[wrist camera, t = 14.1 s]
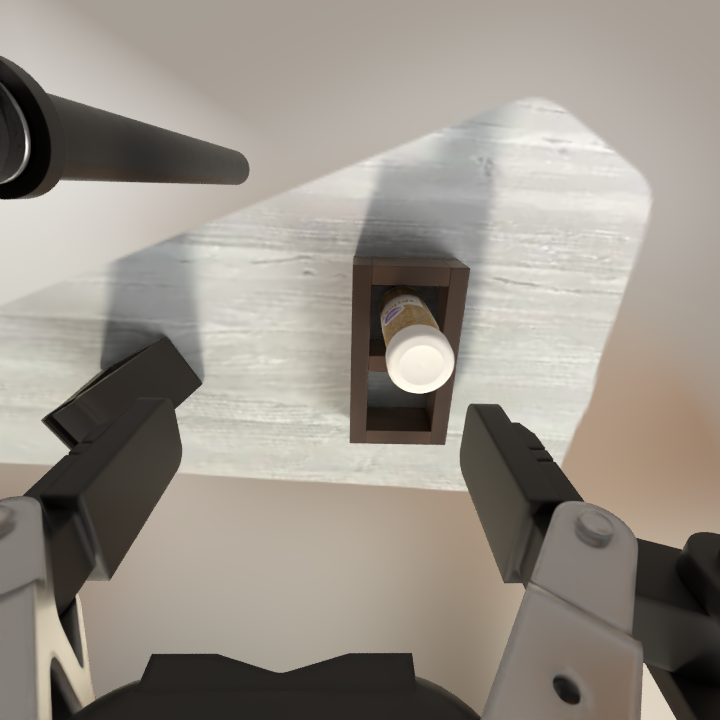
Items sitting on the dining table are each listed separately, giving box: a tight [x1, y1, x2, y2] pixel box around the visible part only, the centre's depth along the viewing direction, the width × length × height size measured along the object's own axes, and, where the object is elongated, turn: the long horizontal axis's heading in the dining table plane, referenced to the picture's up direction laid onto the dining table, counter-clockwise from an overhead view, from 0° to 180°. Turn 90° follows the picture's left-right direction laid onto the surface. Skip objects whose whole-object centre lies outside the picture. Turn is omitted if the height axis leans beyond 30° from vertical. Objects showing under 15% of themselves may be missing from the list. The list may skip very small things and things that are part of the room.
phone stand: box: [41, 337, 202, 450], centre depth 35 cm, size 9×6×12 cm, turn 116°
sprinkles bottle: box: [379, 286, 454, 393], centre depth 32 cm, size 5×5×13 cm
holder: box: [350, 256, 470, 445], centre depth 37 cm, size 10×18×4 cm, turn 179°
